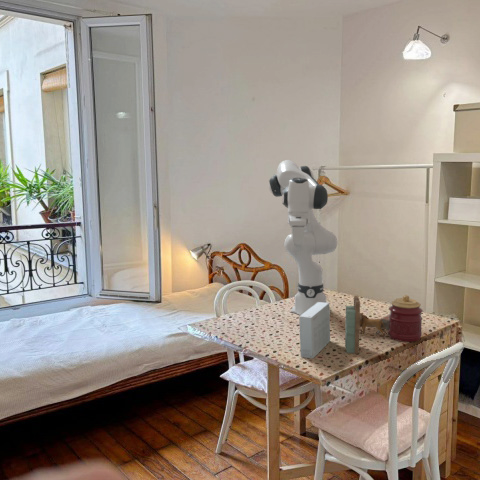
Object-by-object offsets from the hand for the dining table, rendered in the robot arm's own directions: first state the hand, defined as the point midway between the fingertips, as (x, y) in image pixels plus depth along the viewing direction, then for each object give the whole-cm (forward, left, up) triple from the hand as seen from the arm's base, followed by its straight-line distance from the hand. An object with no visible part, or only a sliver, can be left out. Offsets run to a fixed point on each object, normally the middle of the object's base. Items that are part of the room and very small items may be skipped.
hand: (298, 253), depth 204 cm
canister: (-4, +43, -35) cm, 56 cm away
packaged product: (-21, +42, -36) cm, 59 cm away
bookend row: (+12, +21, -35) cm, 43 cm away
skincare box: (+13, +7, -35) cm, 38 cm away
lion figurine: (-6, +29, -35) cm, 46 cm away
